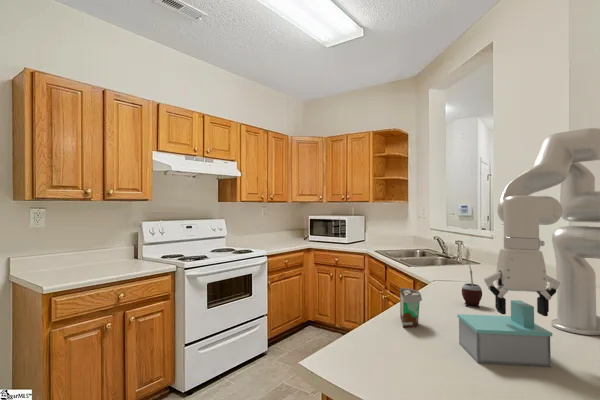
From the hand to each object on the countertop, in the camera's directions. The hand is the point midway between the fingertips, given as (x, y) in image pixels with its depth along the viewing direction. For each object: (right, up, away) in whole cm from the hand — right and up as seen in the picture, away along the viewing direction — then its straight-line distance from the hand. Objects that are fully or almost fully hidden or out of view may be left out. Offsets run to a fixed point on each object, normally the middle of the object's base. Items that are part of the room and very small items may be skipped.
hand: (521, 313), depth 85 cm
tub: (-5, -10, 0) cm, 11 cm away
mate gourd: (+11, -13, +47) cm, 50 cm away
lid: (-5, -4, 0) cm, 7 cm away
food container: (-20, -11, +24) cm, 33 cm away
